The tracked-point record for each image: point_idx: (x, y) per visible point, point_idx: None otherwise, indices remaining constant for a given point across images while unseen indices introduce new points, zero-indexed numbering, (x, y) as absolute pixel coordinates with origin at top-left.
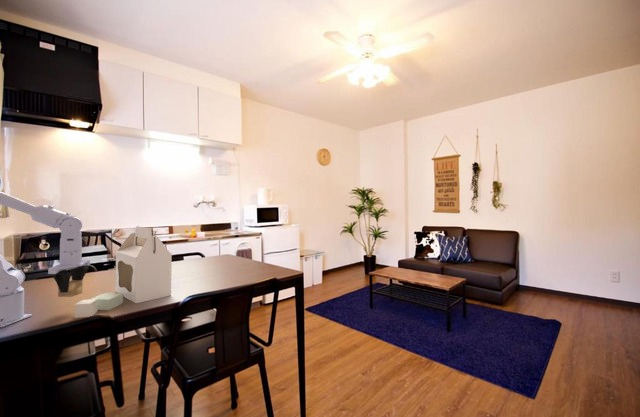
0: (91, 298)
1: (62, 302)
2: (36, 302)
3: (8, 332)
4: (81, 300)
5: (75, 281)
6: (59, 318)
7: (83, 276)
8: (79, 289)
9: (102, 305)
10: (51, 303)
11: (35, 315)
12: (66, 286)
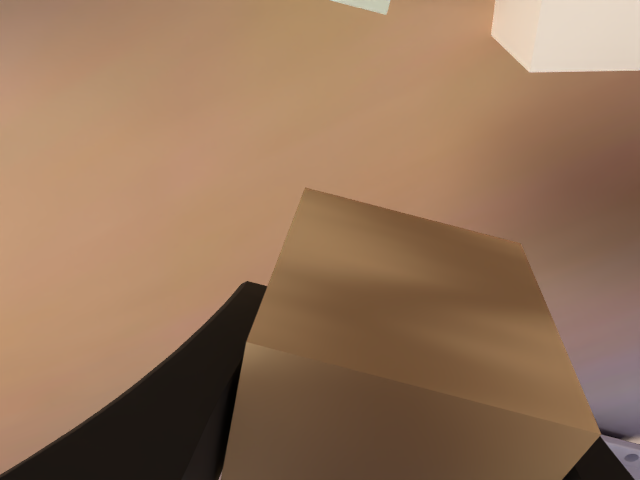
0: (354, 2)
1: (139, 344)
2: None
3: None
4: (559, 69)
5: (345, 432)
6: (613, 183)
7: (112, 425)
8: (362, 244)
9: None
10: None
11: None
12: (606, 449)
